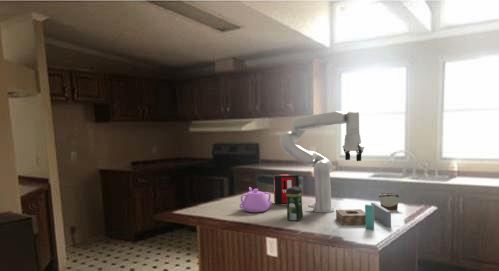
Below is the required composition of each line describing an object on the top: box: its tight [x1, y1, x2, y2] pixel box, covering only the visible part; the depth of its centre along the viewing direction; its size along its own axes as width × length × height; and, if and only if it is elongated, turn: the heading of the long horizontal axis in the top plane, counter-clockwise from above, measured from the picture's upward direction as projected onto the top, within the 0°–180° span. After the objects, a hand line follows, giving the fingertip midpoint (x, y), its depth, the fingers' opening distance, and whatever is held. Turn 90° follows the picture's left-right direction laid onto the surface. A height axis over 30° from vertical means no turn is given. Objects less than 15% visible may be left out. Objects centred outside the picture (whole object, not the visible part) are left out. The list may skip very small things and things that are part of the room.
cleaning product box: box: [273, 173, 300, 205], centre depth 241 cm, size 16×9×20 cm, turn 90°
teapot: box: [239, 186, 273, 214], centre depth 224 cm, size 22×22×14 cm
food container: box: [378, 192, 400, 211], centre depth 215 cm, size 12×6×10 cm, turn 84°
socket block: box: [335, 208, 366, 226], centre depth 186 cm, size 14×14×5 cm
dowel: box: [364, 203, 375, 231], centre depth 172 cm, size 4×4×12 cm
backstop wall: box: [370, 202, 392, 228], centre depth 186 cm, size 2×24×8 cm, turn 179°
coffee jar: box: [286, 186, 304, 222], centre depth 196 cm, size 10×8×19 cm
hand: (353, 160), depth 208 cm, fingers open, 9 cm apart
